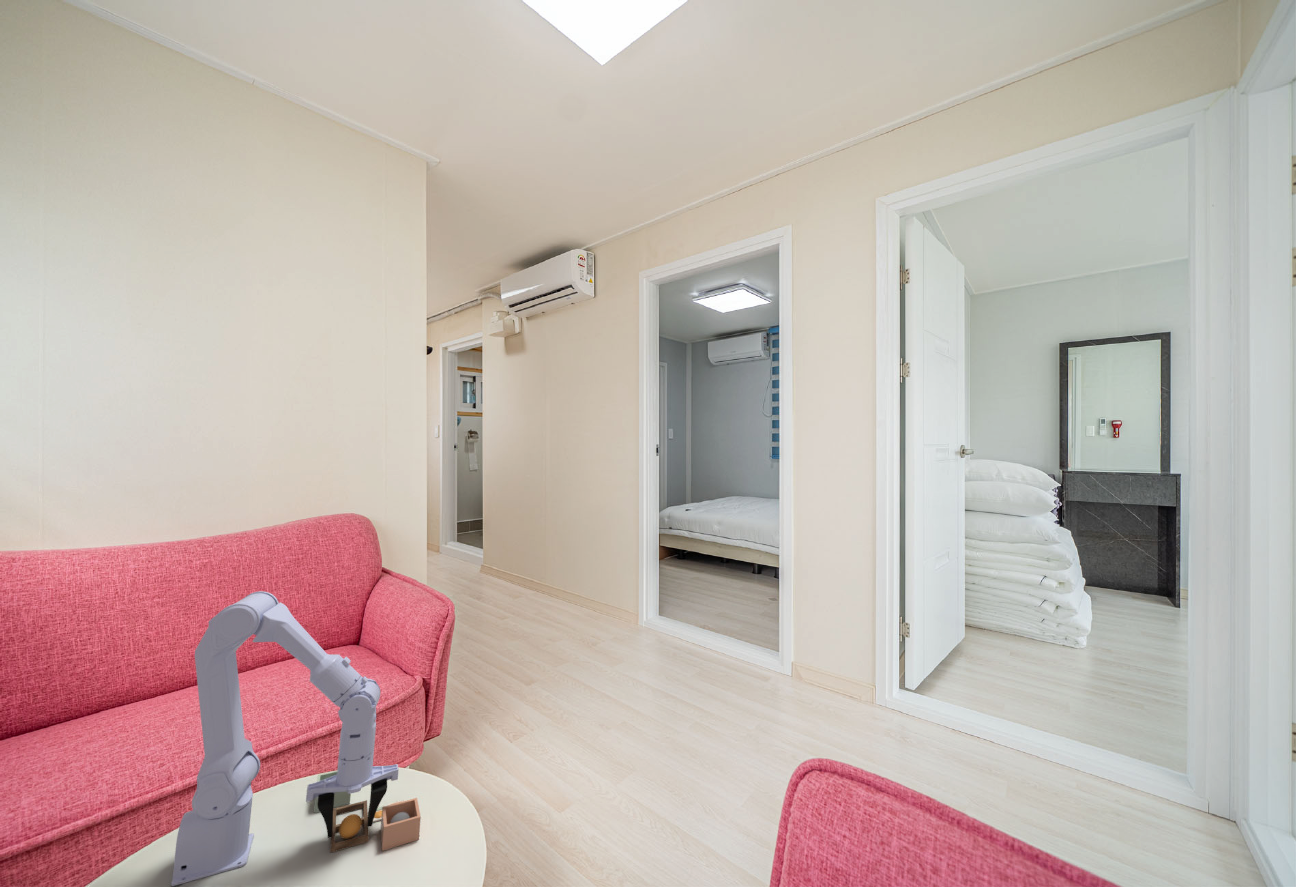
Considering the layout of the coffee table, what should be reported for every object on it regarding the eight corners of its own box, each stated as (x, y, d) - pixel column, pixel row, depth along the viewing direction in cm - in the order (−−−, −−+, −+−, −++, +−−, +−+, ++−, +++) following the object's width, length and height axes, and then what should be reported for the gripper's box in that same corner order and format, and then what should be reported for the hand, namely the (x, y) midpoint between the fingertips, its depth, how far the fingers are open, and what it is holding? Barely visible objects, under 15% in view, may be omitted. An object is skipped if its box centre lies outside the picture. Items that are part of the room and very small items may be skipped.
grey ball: (389, 844, 90) (390, 823, 90) (387, 831, 93) (388, 811, 93) (411, 836, 92) (411, 816, 92) (409, 824, 95) (409, 805, 95)
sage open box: (314, 812, 97) (315, 791, 97) (316, 795, 102) (317, 774, 102) (349, 803, 100) (351, 783, 100) (349, 786, 105) (351, 767, 105)
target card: (370, 823, 95) (371, 820, 95) (370, 810, 98) (370, 808, 98) (405, 813, 98) (405, 811, 98) (403, 801, 101) (404, 799, 101)
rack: (330, 852, 87) (330, 846, 87) (332, 814, 96) (332, 809, 96) (368, 841, 90) (368, 836, 90) (366, 805, 99) (367, 800, 99)
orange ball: (337, 846, 89) (339, 825, 89) (338, 833, 92) (340, 813, 92) (361, 839, 90) (362, 819, 91) (360, 827, 93) (362, 807, 94)
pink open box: (382, 850, 88) (384, 827, 88) (380, 829, 93) (382, 807, 93) (418, 839, 91) (420, 816, 91) (415, 819, 96) (417, 797, 96)
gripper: (307, 774, 85) (300, 857, 84) (401, 753, 92) (395, 829, 91) (310, 753, 91) (303, 830, 90) (398, 735, 98) (393, 806, 97)
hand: (350, 828), depth 91 cm, fingers open, 6 cm apart
